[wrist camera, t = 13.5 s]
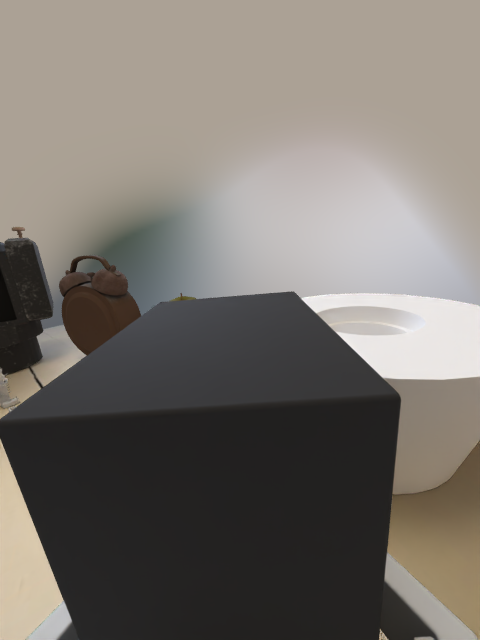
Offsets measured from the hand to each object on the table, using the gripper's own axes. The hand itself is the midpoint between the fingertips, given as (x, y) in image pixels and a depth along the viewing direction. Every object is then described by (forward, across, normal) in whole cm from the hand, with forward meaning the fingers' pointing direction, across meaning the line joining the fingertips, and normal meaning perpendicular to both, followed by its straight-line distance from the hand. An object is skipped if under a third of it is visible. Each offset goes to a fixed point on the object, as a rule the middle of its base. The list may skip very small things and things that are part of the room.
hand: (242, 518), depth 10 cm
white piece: (+18, -12, +11) cm, 24 cm away
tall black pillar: (-1, 0, +10) cm, 10 cm away
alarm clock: (+42, +27, +11) cm, 51 cm away
